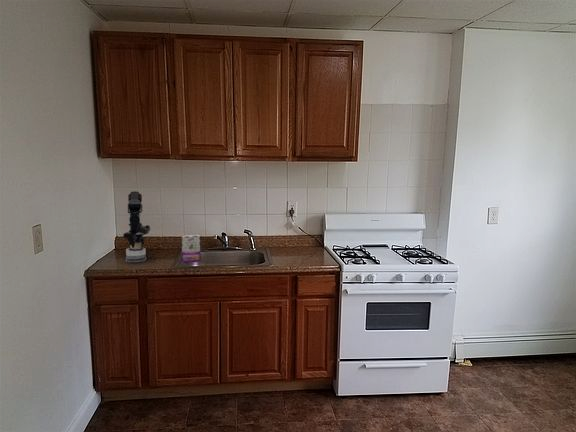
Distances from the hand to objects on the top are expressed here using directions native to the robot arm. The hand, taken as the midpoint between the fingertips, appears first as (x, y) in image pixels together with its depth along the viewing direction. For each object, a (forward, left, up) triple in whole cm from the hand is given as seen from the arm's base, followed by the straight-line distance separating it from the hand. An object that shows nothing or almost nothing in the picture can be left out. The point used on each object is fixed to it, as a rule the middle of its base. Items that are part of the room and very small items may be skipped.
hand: (135, 246), depth 232 cm
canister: (0, 0, -8) cm, 9 cm away
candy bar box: (-3, +34, -9) cm, 35 cm away
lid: (0, 0, -1) cm, 1 cm away
